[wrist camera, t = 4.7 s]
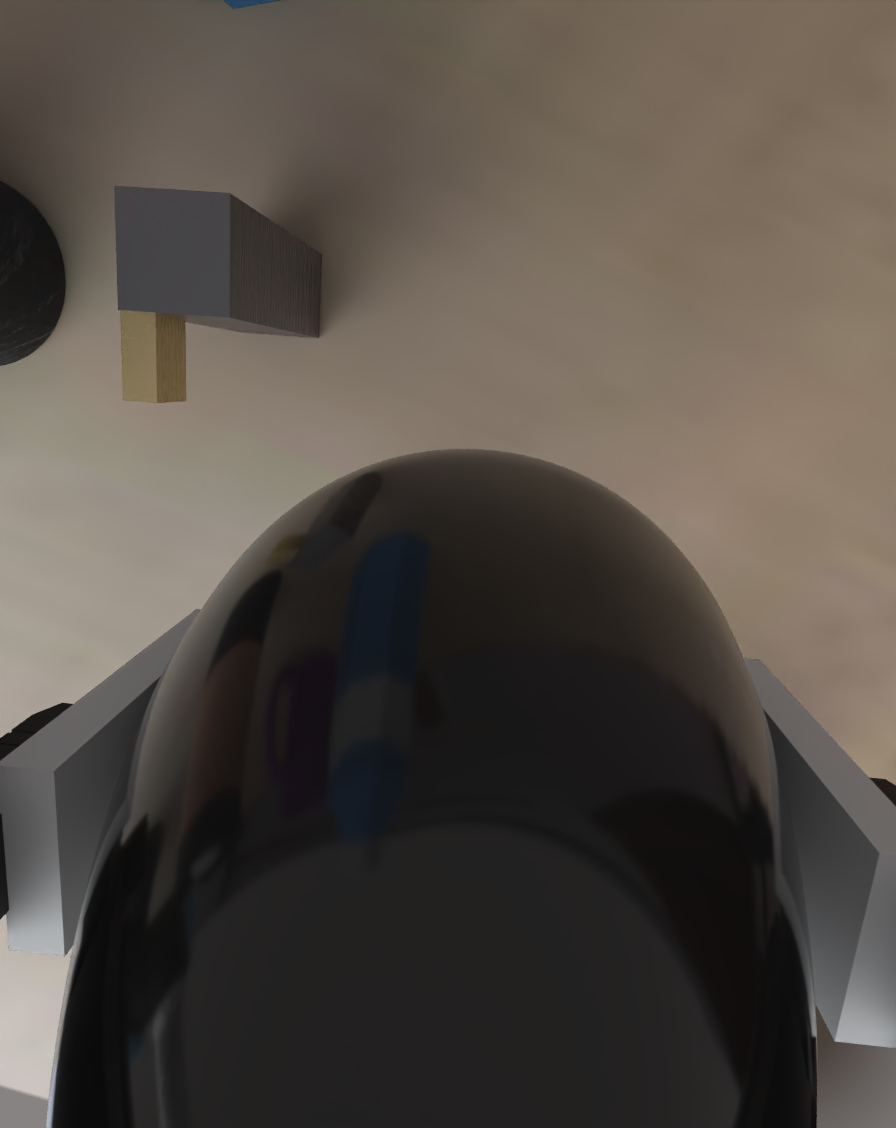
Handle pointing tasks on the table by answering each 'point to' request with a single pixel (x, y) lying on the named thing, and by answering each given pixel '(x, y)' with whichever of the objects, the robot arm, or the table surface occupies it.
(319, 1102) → the pump dispenser
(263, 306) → the latch post
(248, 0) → the water bottle
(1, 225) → the travel mug
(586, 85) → the table surface
